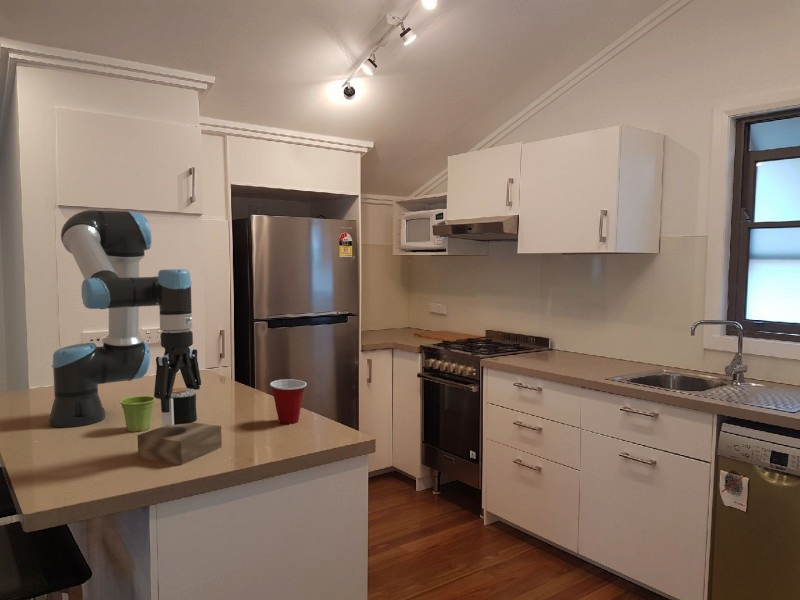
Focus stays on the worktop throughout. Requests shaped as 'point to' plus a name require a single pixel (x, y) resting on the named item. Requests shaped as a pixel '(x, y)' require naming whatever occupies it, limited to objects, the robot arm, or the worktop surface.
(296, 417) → the plastic cup
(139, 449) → the walnut block
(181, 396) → the sushi
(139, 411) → the plant pot
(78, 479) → the worktop surface
